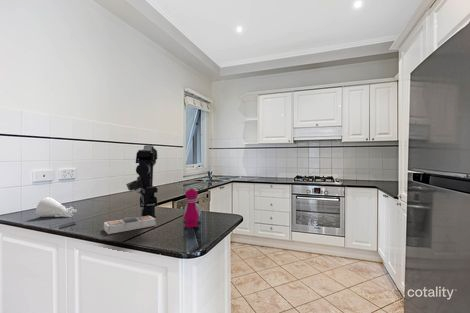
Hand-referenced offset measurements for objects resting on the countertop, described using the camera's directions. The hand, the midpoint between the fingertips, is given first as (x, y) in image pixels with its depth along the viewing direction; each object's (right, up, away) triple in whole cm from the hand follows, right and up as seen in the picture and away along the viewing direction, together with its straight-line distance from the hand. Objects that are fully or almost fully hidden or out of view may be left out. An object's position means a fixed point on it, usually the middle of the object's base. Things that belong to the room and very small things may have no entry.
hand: (144, 205), depth 121 cm
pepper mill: (+24, -10, -2) cm, 26 cm away
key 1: (-11, -8, -9) cm, 16 cm away
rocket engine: (-57, -10, +16) cm, 61 cm away
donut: (+22, -10, +9) cm, 26 cm away
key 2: (0, -8, 0) cm, 8 cm away
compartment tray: (-6, -10, -4) cm, 12 cm away
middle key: (-6, -7, -4) cm, 10 cm away
